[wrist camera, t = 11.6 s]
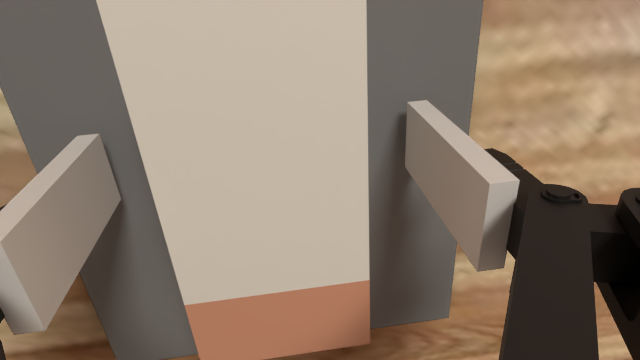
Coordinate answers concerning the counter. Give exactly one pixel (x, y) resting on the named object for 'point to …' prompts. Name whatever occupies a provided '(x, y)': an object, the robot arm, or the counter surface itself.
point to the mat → (131, 179)
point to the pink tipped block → (255, 164)
